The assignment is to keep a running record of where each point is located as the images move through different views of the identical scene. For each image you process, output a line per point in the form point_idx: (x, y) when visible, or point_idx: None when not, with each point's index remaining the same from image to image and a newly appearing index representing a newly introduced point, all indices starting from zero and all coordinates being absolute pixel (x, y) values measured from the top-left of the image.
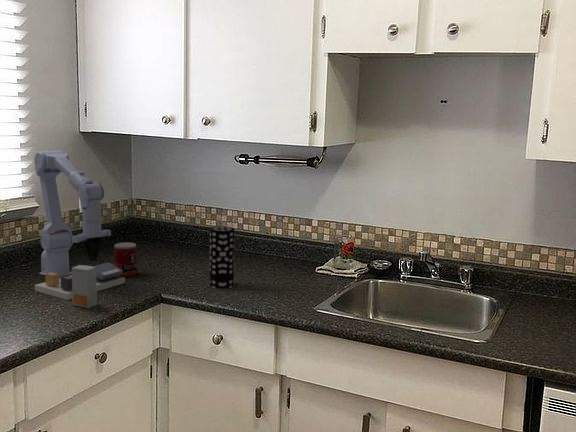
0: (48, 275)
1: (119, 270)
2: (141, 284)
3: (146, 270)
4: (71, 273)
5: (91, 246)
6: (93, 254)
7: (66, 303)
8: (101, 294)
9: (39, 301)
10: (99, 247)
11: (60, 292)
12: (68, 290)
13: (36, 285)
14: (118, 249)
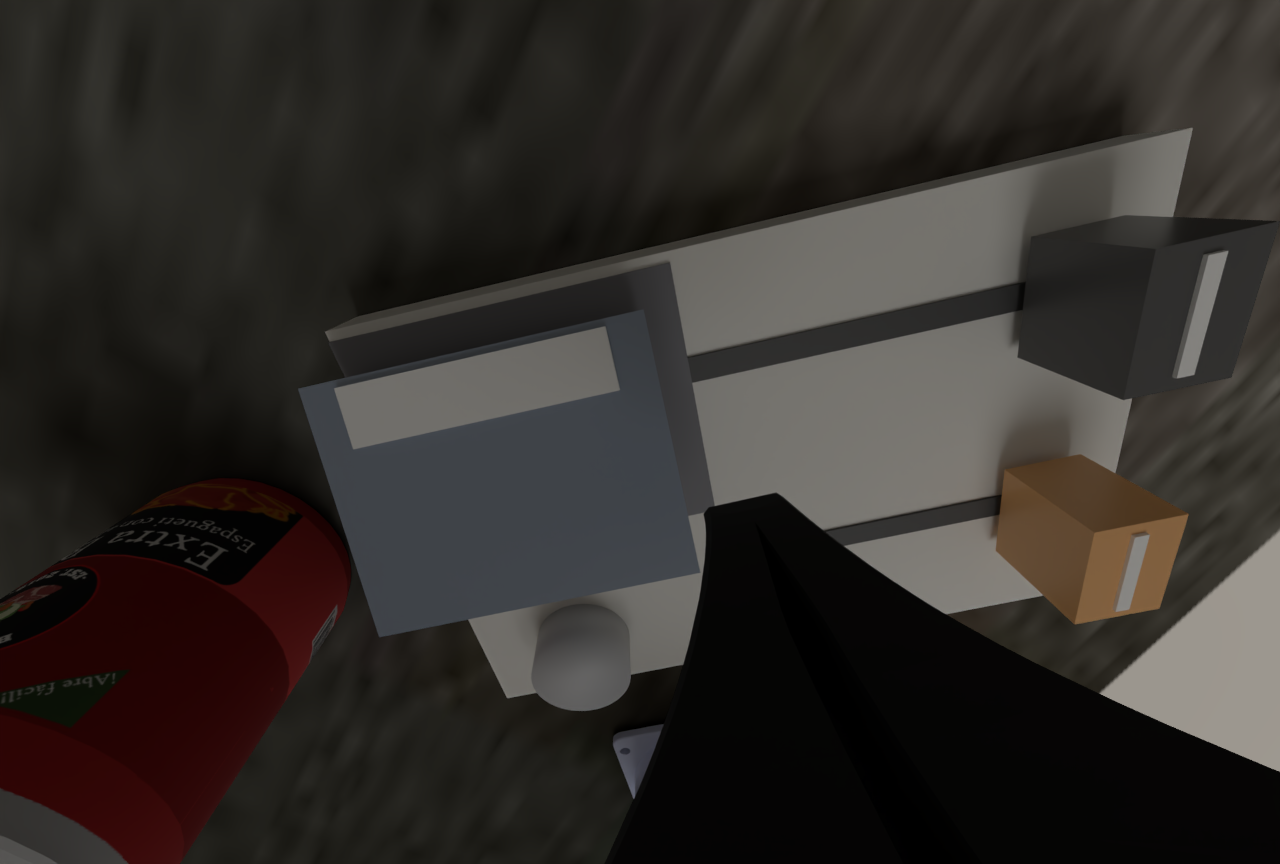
0: (1163, 561)
1: (343, 398)
2: (190, 135)
3: (29, 558)
4: (641, 735)
5: (1212, 763)
6: (852, 557)
7: (1221, 21)
8: (764, 77)
9: (1266, 283)
10: (696, 724)
11: None
12: None
13: None
14: (108, 813)
